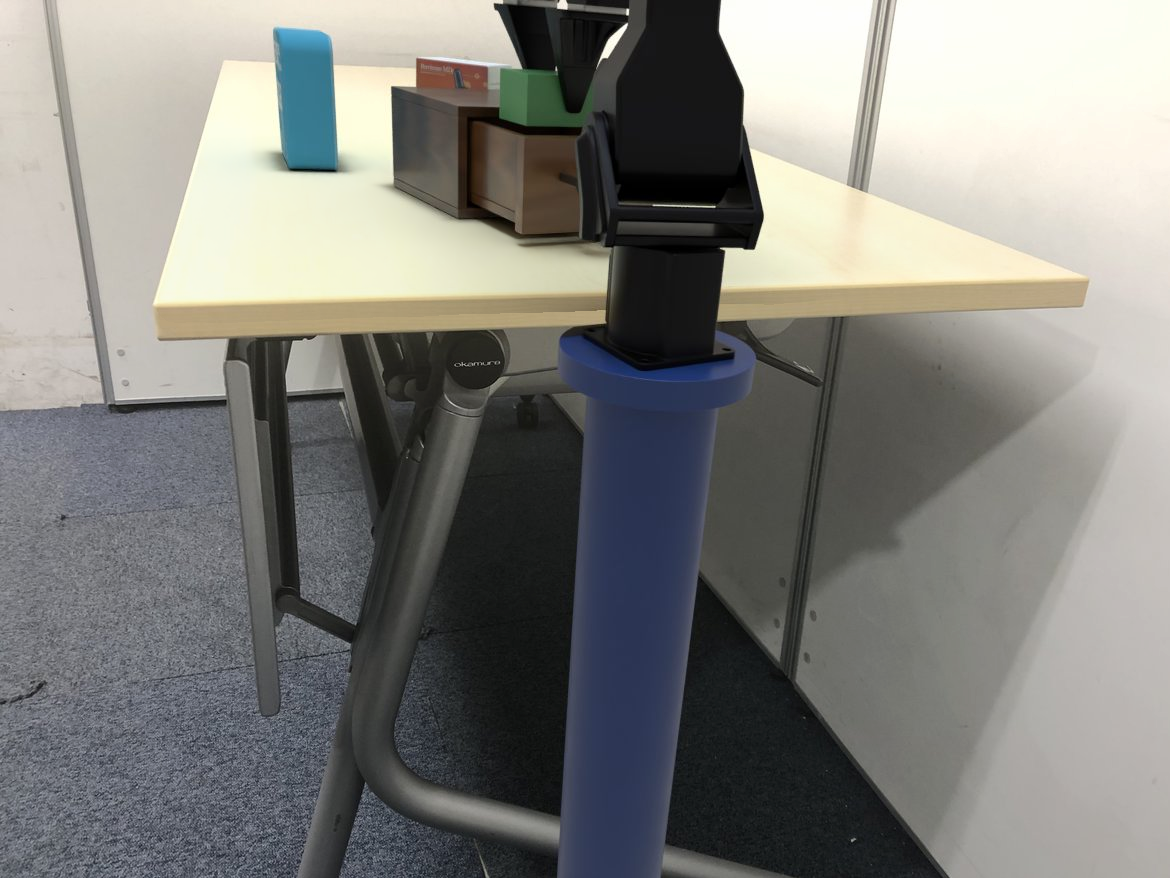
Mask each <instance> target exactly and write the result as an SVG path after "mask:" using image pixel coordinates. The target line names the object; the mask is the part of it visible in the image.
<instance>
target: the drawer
mask: <svg viewBox="0 0 1170 878" xmlns="http://www.w3.org/2000/svg"><path fill="white" fill-rule="evenodd" d="M582 129H583V127H537V126H524V125H520V124H517V123H514V122H510V121H507V120H504V119H500V118H491V117H467V200H468V201H470V202H472V203H474V204H476V205H478V206H480V207H483V208H485V209H487V210H489V211H491V212H493V213H495V214H498V215H500V216H502V217H501V218H504V219H506V220H508V221H510V222H513V223H514V231H515V232H516V233H518V234H520V235H541V234H544V235H545V234H558V233H562V234H563V233H579V227H580V196H579V187H578V177H577V167H576V158H575V141H576V140H577V139H578V138H579V136H580V135H581V132H582ZM619 205H643V204H619ZM646 206H654V205H646Z"/></svg>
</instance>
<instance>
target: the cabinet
mask: <svg viewBox="0 0 1170 878" xmlns="http://www.w3.org/2000/svg"><path fill="white" fill-rule="evenodd" d="M390 95H391V96H390V99H391V101H390V103H391V137H392V138H391V140H392V175H393V187H395V188H397V189H399V190H401V191H403V192H405V193H407V194H409V195H410V196H412V197H415V198H417V199H419V200H420V201H422V202H424V203H426V204H428V205H431V206H432V207H435V208H436V209H438V210H440V211H442V212H444V213H447V214H448V215H450V216H452V217H455V219H487V218H489V219H490V218H503V217H502V216H500V215H498V214H495V213H493V212H491V211H489V210H487V209H485V208H483V207H480V206H478V205H476V204H474V203H472V202H470V201H468V200H467V117H491V118H499V112H500V90H491V89H463V88H435V87H416V86H404V85H401V86H400V85H391V86H390Z"/></svg>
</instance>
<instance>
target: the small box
mask: <svg viewBox="0 0 1170 878" xmlns="http://www.w3.org/2000/svg"><path fill="white" fill-rule="evenodd" d="M500 68H510V69H513V66H512V65H511V64H509V63H497V62H489V61H477V60H469V59H462V58H461V59H459V58H451V57H444V56H417V57H416V58H415V87H435V88H463V89H491V90H500Z"/></svg>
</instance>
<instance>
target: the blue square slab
mask: <svg viewBox="0 0 1170 878" xmlns="http://www.w3.org/2000/svg"><path fill="white" fill-rule="evenodd" d="M272 38H273V53H274V67H275V80H276V81H275V82H276V93H277V94H276V95H277V109H278V122H279V134H280V136H279V137H280V146H281V152H282V155H283V157H284V160H285V162H286V165H287V167H288V168H289V169H290V170H324V171H325V170H327V171H335V170H338V166H339V150H338V149H339V148H338V131H337V130H338V129H337V128H338V127H337V109H336V107H337V106H336V89H335V70H334V69H335V68H334V67H335V65H334V51H333V49H334V48H333V42H332V38H331V36H330V35H329V34H328V33H325V32H323V31H322V30H321V29H320V30H319V29H311V28H296V27H295V28H294V27H281V26H275V27H273V29H272Z"/></svg>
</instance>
